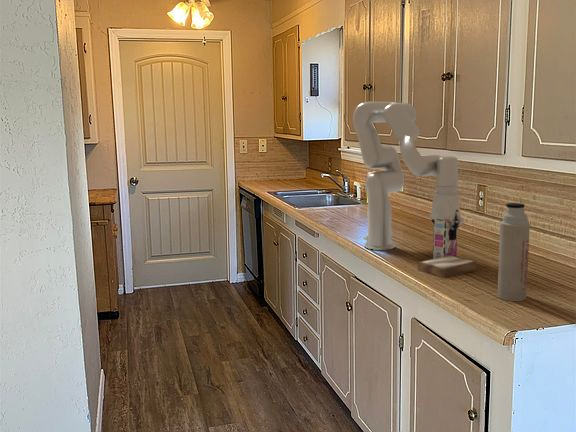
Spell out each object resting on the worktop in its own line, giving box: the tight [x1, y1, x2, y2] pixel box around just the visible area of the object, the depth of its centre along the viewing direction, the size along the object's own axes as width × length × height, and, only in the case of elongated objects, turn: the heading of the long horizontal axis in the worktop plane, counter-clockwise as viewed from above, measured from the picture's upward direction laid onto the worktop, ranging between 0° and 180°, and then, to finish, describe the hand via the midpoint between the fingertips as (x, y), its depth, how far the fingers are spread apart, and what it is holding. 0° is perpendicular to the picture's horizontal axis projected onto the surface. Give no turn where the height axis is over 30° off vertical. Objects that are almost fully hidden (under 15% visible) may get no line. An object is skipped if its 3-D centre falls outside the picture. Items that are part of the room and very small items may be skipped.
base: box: [417, 256, 478, 279], centre depth 200 cm, size 12×16×3 cm
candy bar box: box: [432, 218, 459, 259], centre depth 212 cm, size 11×5×16 cm, turn 141°
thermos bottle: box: [497, 202, 531, 302], centre depth 167 cm, size 8×8×28 cm
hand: (445, 237), depth 212 cm, fingers closed on candy bar box, 6 cm apart
